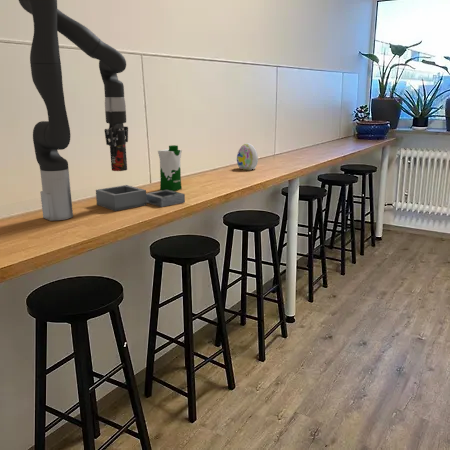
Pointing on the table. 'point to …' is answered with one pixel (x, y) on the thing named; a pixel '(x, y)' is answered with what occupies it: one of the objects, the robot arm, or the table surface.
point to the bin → (121, 197)
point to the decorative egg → (247, 157)
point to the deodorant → (119, 153)
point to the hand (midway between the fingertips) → (118, 155)
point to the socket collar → (165, 198)
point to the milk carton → (170, 168)
